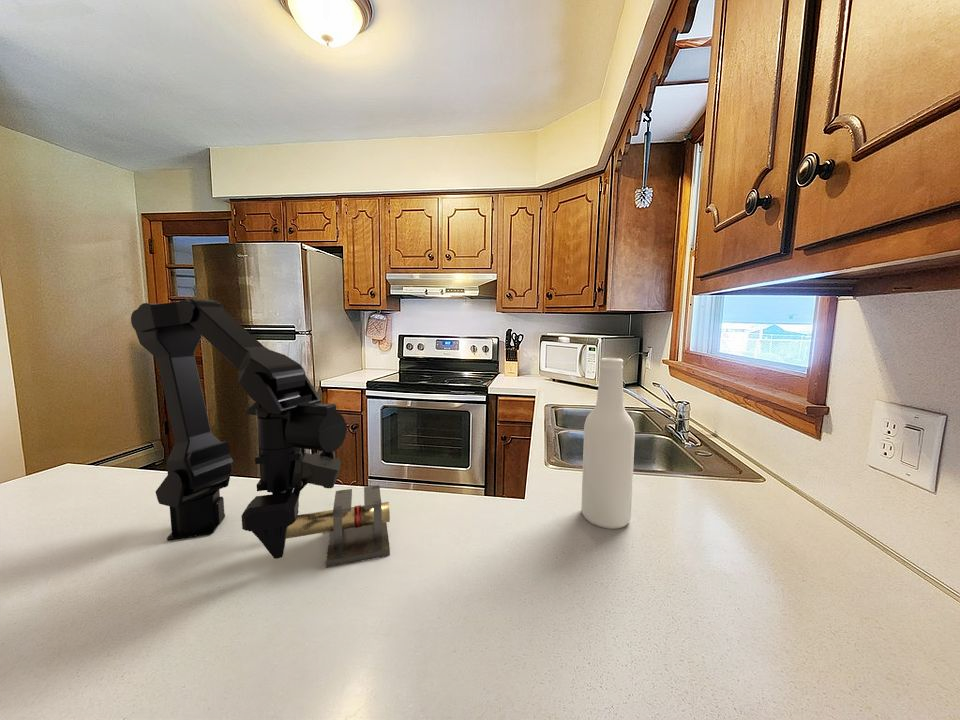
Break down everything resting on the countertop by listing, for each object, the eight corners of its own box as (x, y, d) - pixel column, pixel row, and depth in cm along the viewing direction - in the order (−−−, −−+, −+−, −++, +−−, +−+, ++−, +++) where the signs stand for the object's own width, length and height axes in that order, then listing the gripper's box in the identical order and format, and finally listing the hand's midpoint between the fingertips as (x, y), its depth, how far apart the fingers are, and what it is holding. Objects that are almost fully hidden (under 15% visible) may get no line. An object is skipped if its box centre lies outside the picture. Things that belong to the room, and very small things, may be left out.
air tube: (267, 546, 54) (266, 525, 54) (273, 534, 57) (271, 514, 57) (389, 526, 60) (389, 506, 59) (388, 516, 63) (388, 497, 63)
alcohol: (624, 536, 61) (632, 362, 58) (574, 520, 66) (579, 359, 63) (635, 514, 68) (642, 358, 65) (589, 501, 73) (594, 355, 70)
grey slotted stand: (326, 567, 53) (324, 520, 52) (332, 524, 64) (330, 485, 63) (389, 555, 56) (389, 510, 55) (385, 516, 67) (384, 478, 66)
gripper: (332, 459, 49) (336, 567, 50) (339, 423, 66) (342, 504, 68) (237, 469, 45) (244, 585, 47) (271, 428, 63) (276, 513, 64)
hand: (285, 539), depth 56 cm, fingers open, 9 cm apart
